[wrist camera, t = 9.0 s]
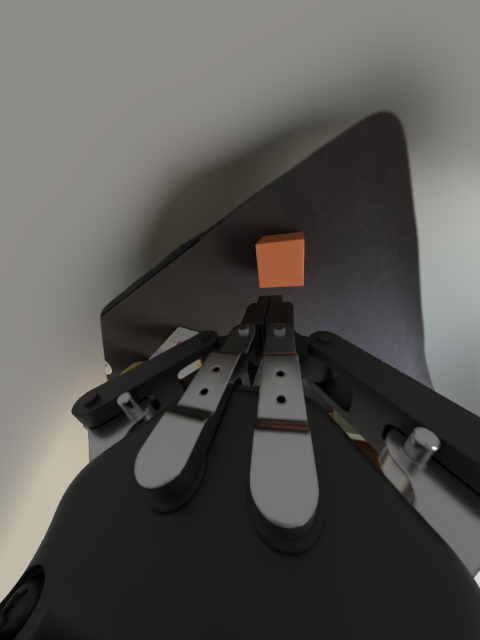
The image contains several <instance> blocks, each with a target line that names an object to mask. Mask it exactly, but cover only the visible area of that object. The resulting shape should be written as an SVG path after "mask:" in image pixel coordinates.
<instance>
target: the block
mask: <svg viewBox="0 0 480 640" xmlns="http://www.w3.org/2000/svg"><path fill="white" fill-rule="evenodd" d="M255 246H256V256H257V265H258V275H259V285H260V288H265V287H285V286H303V284H304V235H303V232H294V233H286V234H279V235H271V236H263V237H262V238H261V239H260V240H259V241H258V242H257V243H256V245H255Z"/></svg>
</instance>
